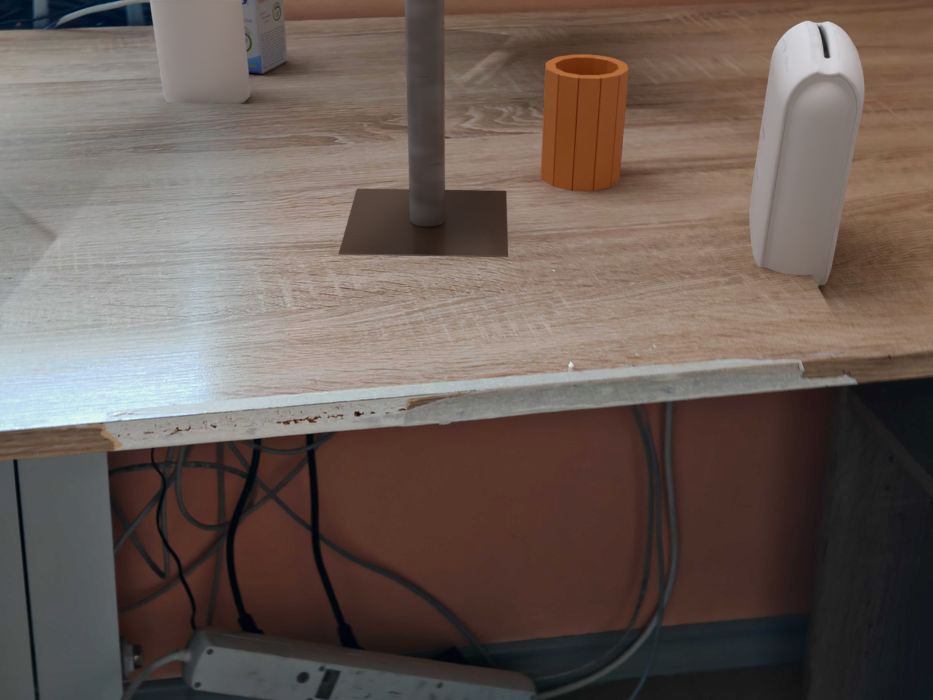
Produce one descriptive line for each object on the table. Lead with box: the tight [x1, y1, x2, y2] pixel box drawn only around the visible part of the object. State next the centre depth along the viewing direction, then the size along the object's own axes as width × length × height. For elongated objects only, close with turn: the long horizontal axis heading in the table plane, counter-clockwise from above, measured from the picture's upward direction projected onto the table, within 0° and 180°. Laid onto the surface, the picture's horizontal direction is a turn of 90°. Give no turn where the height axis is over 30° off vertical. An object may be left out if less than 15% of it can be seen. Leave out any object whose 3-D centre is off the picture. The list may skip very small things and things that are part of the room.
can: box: [149, 0, 251, 105], centre depth 79 cm, size 6×6×12 cm
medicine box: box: [242, 0, 288, 75], centre depth 89 cm, size 8×4×9 cm, turn 70°
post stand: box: [338, 0, 509, 258], centre depth 57 cm, size 9×9×17 cm
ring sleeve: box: [540, 54, 630, 192], centre depth 65 cm, size 5×5×8 cm
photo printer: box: [748, 20, 866, 287], centre depth 57 cm, size 10×4×12 cm, turn 169°
